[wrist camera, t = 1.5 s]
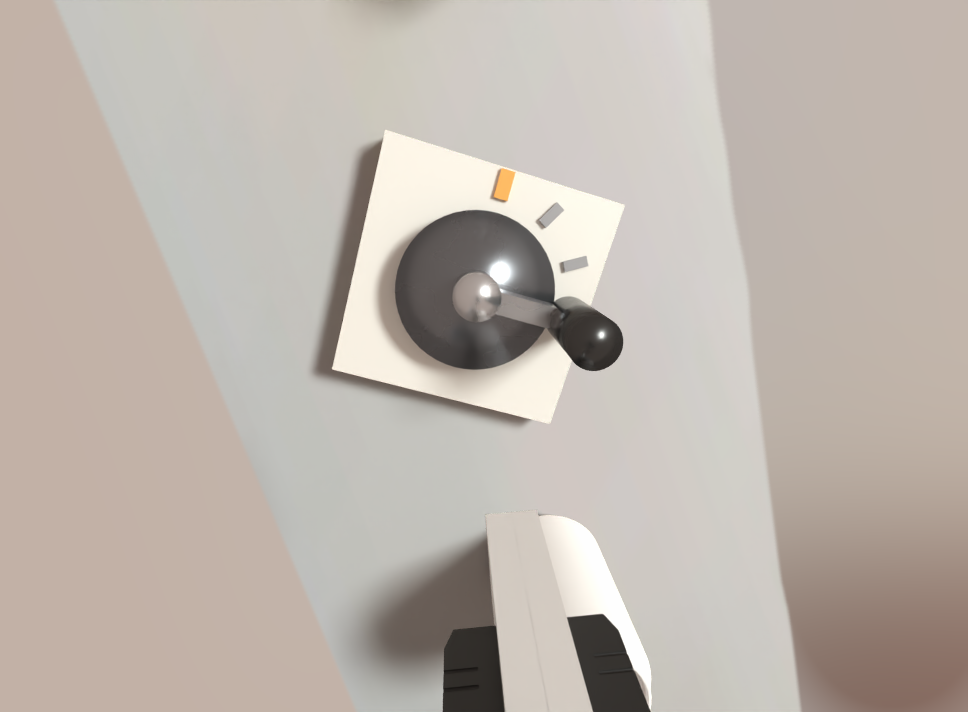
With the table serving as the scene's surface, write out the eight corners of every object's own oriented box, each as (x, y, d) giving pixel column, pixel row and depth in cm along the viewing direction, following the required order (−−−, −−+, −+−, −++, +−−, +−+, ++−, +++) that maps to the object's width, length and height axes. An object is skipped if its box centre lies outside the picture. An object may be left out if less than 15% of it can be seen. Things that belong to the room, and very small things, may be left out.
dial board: (544, 412, 35) (550, 425, 32) (339, 360, 33) (331, 370, 31) (614, 205, 31) (626, 204, 29) (389, 135, 29) (384, 129, 27)
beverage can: (555, 620, 39) (598, 788, 28) (467, 573, 38) (474, 732, 26) (619, 542, 38) (692, 686, 26) (530, 490, 36) (567, 619, 25)
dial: (381, 342, 30) (360, 379, 23) (418, 189, 28) (407, 181, 21) (560, 388, 32) (589, 437, 25) (608, 247, 30) (656, 256, 23)
